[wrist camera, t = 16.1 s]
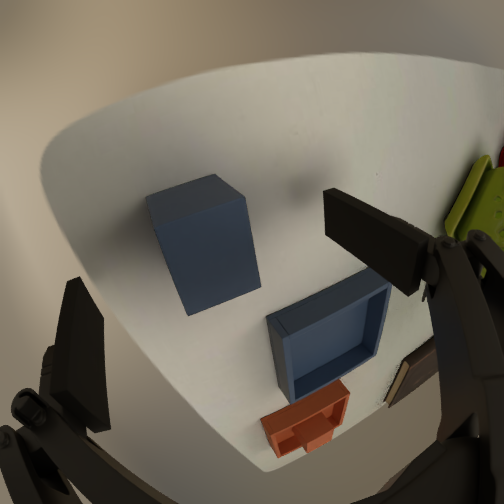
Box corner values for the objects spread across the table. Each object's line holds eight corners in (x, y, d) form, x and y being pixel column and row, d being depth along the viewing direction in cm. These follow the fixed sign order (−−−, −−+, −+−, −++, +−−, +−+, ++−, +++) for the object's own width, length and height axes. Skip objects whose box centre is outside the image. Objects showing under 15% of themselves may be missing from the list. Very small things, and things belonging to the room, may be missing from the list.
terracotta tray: (270, 445, 37) (277, 458, 35) (260, 418, 31) (270, 435, 29) (333, 412, 40) (342, 424, 38) (338, 378, 34) (350, 392, 32)
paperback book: (448, 351, 57) (454, 356, 55) (382, 401, 51) (388, 408, 49) (471, 304, 48) (478, 310, 46) (402, 357, 42) (410, 366, 40)
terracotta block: (292, 430, 36) (306, 453, 33) (290, 418, 33) (307, 443, 30) (316, 418, 37) (331, 439, 34) (317, 404, 34) (334, 428, 31)
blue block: (171, 271, 17) (188, 317, 14) (145, 196, 15) (153, 227, 11) (232, 248, 18) (261, 287, 15) (215, 173, 16) (245, 196, 12)
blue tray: (278, 386, 29) (290, 405, 26) (265, 316, 23) (282, 338, 20) (362, 340, 32) (376, 355, 29) (373, 264, 25) (393, 279, 23)
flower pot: (490, 196, 33) (553, 231, 23) (451, 271, 35) (514, 317, 25) (475, 136, 25) (563, 174, 14) (427, 231, 27) (519, 291, 17)
